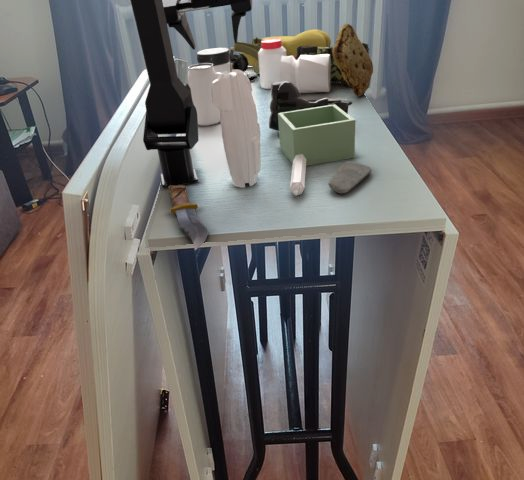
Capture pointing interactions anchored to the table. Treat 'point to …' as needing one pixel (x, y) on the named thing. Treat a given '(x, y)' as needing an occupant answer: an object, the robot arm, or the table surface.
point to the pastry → (352, 60)
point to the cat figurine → (293, 102)
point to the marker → (298, 175)
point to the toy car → (335, 72)
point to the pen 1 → (252, 78)
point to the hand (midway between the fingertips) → (215, 45)
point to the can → (203, 93)
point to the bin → (317, 134)
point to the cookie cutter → (250, 50)
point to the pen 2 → (331, 100)
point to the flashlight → (238, 125)
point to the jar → (216, 58)
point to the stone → (348, 176)
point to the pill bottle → (270, 61)
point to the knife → (187, 215)
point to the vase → (307, 72)
